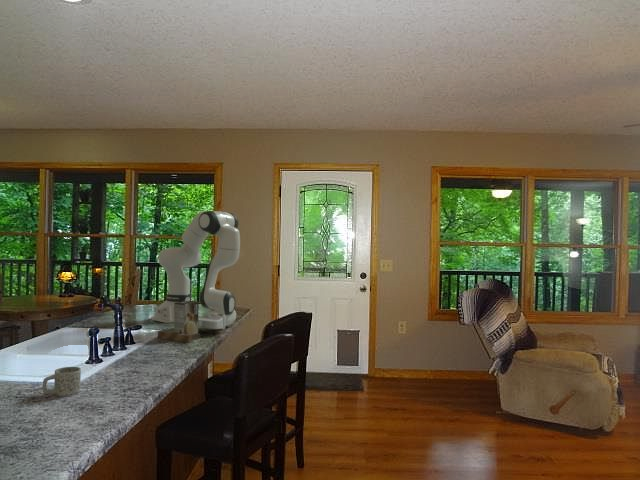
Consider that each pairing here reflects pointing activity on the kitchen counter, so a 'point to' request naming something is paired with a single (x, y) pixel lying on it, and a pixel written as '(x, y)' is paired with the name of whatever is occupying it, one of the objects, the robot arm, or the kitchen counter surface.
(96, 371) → the kitchen counter surface
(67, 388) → the mug
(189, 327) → the coffee box
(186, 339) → the walnut dock
